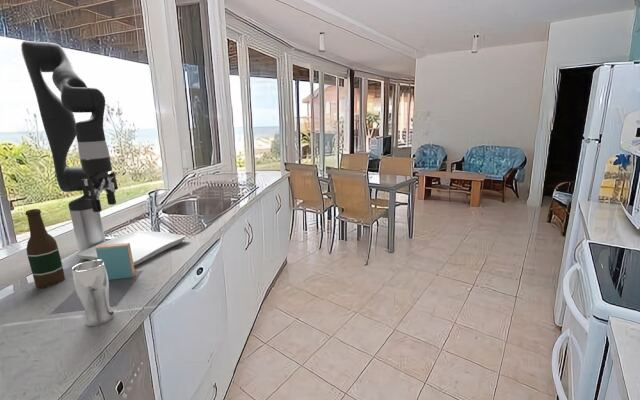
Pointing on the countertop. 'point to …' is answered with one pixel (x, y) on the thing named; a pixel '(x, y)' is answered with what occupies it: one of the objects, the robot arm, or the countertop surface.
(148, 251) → the square plate
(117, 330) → the countertop surface
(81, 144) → the robot arm
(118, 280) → the mat
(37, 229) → the beer bottle
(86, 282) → the beer glass
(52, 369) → the countertop surface
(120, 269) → the tile
